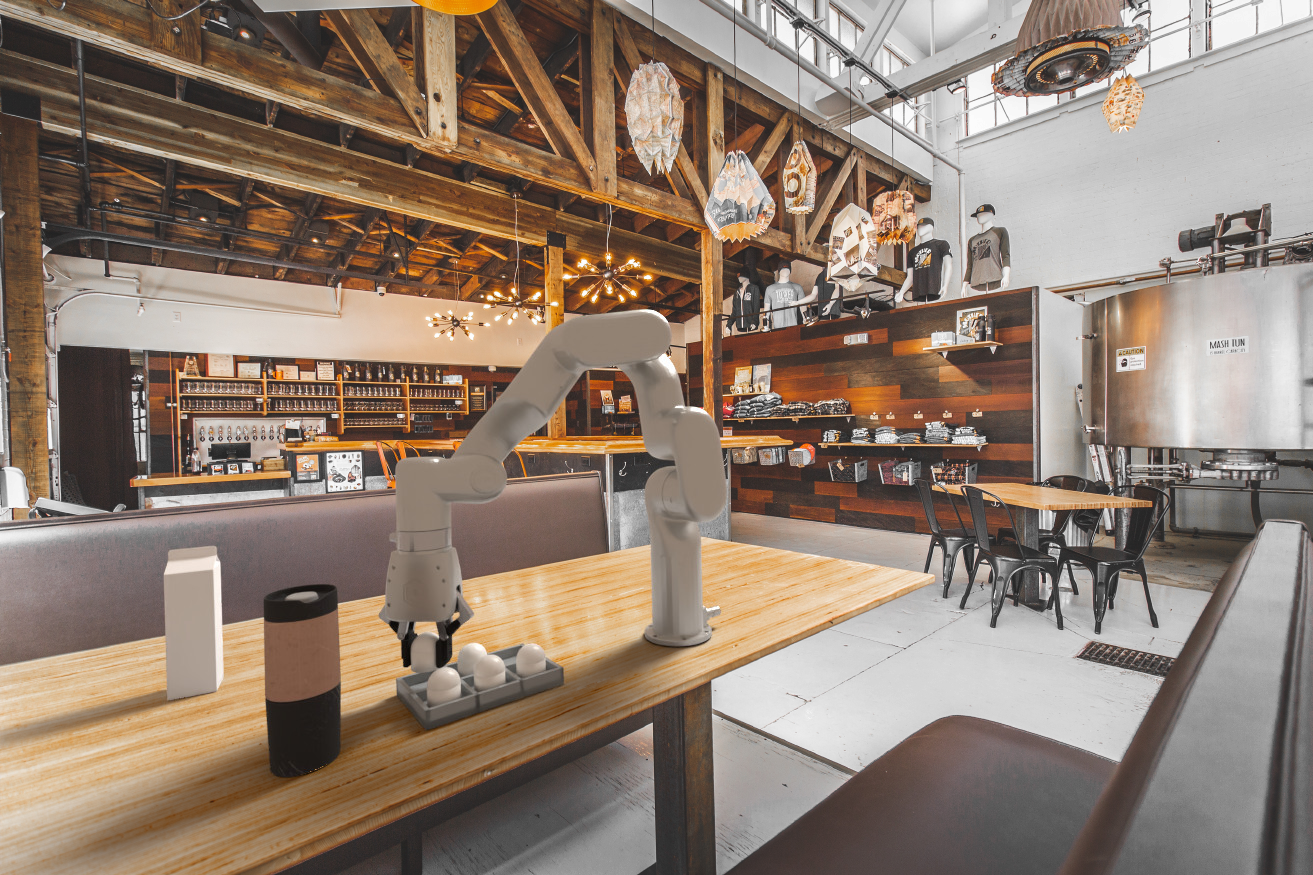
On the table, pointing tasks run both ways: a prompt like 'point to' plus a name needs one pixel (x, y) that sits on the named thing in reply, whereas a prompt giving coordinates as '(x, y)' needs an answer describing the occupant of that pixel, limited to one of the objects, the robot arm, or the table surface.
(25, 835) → the table surface
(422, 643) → the egg
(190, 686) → the milk
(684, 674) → the table surface
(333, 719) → the travel mug
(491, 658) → the carton
